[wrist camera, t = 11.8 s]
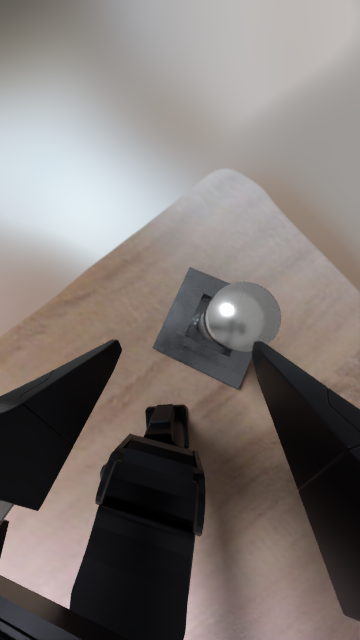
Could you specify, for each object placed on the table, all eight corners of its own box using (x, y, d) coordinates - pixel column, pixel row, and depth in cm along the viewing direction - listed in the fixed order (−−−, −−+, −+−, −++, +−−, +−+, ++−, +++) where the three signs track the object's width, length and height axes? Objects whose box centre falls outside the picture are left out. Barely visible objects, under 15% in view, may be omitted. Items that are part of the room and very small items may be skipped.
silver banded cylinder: (230, 339, 22) (289, 350, 9) (198, 342, 22) (210, 357, 9) (226, 308, 22) (276, 275, 9) (195, 311, 23) (202, 284, 10)
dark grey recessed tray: (236, 386, 22) (245, 396, 19) (153, 347, 24) (147, 349, 20) (271, 303, 23) (285, 298, 20) (189, 269, 24) (189, 259, 21)
